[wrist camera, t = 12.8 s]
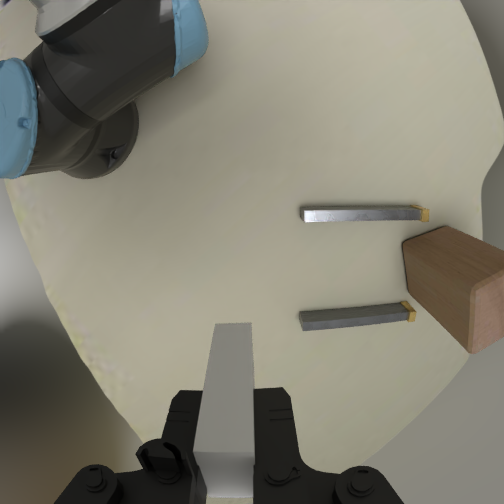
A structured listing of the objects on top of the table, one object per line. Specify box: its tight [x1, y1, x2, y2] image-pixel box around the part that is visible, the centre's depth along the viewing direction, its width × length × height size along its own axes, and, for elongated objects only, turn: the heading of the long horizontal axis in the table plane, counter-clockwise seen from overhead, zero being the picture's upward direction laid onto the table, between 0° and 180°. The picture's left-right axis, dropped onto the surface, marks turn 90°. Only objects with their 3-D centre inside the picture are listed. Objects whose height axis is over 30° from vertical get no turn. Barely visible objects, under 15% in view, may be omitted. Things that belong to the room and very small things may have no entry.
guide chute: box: [299, 205, 429, 331], centre depth 44 cm, size 18×19×4 cm
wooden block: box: [403, 226, 504, 354], centre depth 36 cm, size 10×10×20 cm
